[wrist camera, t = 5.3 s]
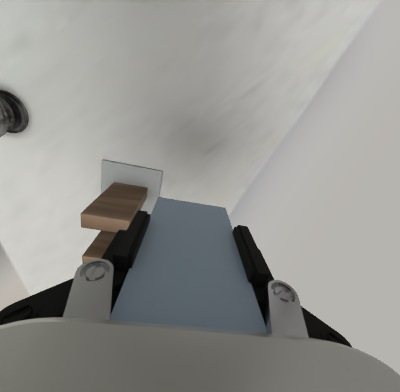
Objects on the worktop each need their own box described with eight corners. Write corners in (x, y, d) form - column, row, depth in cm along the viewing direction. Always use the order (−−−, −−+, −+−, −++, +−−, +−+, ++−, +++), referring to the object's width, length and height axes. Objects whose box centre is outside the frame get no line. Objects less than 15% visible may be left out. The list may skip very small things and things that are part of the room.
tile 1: (114, 181, 30) (80, 213, 21) (147, 187, 31) (129, 221, 22) (113, 192, 31) (81, 227, 22) (146, 197, 32) (128, 234, 22)
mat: (102, 159, 29) (101, 160, 29) (162, 171, 30) (162, 171, 30) (101, 303, 42) (100, 305, 41) (143, 307, 43) (143, 309, 42)
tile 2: (112, 214, 33) (82, 256, 23) (144, 219, 33) (126, 261, 24) (112, 223, 33) (82, 267, 24) (143, 228, 34) (125, 272, 25)
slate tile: (158, 197, 14) (98, 344, 5) (225, 207, 15) (276, 357, 6) (155, 217, 15) (99, 379, 6) (219, 227, 16) (258, 388, 7)
